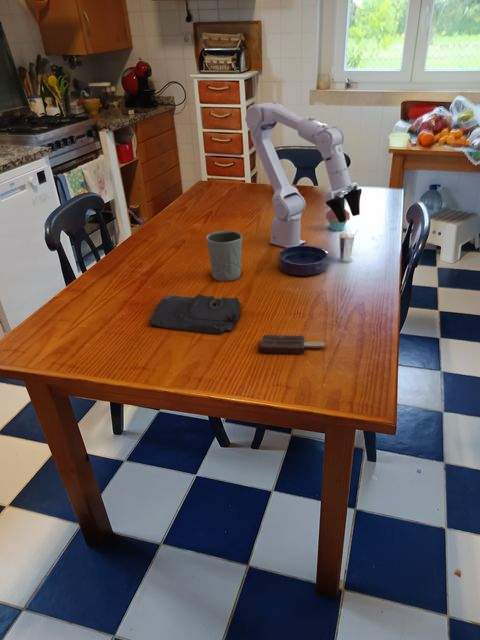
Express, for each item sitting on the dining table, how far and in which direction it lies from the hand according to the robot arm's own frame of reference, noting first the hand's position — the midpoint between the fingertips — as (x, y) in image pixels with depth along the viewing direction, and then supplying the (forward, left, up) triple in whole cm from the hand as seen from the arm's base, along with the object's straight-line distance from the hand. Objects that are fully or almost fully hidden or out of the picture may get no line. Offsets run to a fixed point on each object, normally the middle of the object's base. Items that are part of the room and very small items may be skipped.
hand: (349, 218), depth 144 cm
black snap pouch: (-12, -53, -13) cm, 56 cm away
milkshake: (0, 0, -13) cm, 13 cm away
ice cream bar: (+16, -50, -13) cm, 54 cm away
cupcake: (-18, +23, -13) cm, 32 cm away
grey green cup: (-23, -30, -13) cm, 40 cm away
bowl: (-8, -12, -13) cm, 20 cm away
